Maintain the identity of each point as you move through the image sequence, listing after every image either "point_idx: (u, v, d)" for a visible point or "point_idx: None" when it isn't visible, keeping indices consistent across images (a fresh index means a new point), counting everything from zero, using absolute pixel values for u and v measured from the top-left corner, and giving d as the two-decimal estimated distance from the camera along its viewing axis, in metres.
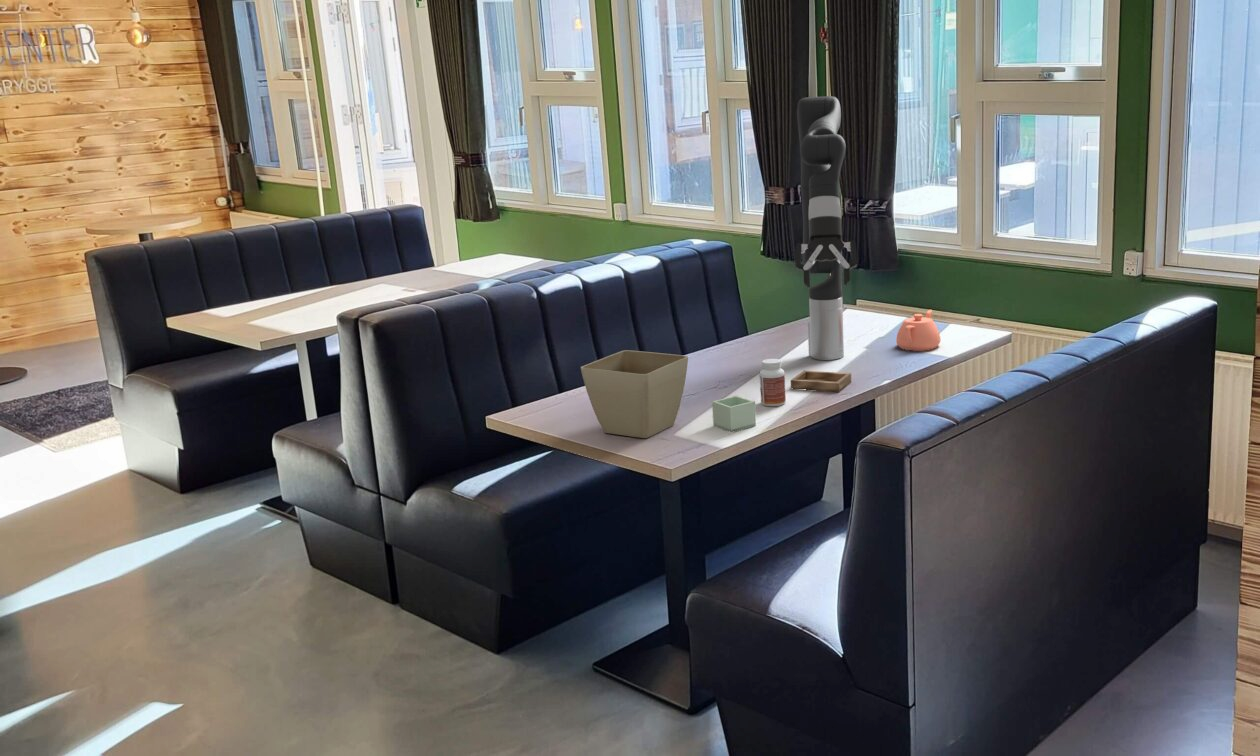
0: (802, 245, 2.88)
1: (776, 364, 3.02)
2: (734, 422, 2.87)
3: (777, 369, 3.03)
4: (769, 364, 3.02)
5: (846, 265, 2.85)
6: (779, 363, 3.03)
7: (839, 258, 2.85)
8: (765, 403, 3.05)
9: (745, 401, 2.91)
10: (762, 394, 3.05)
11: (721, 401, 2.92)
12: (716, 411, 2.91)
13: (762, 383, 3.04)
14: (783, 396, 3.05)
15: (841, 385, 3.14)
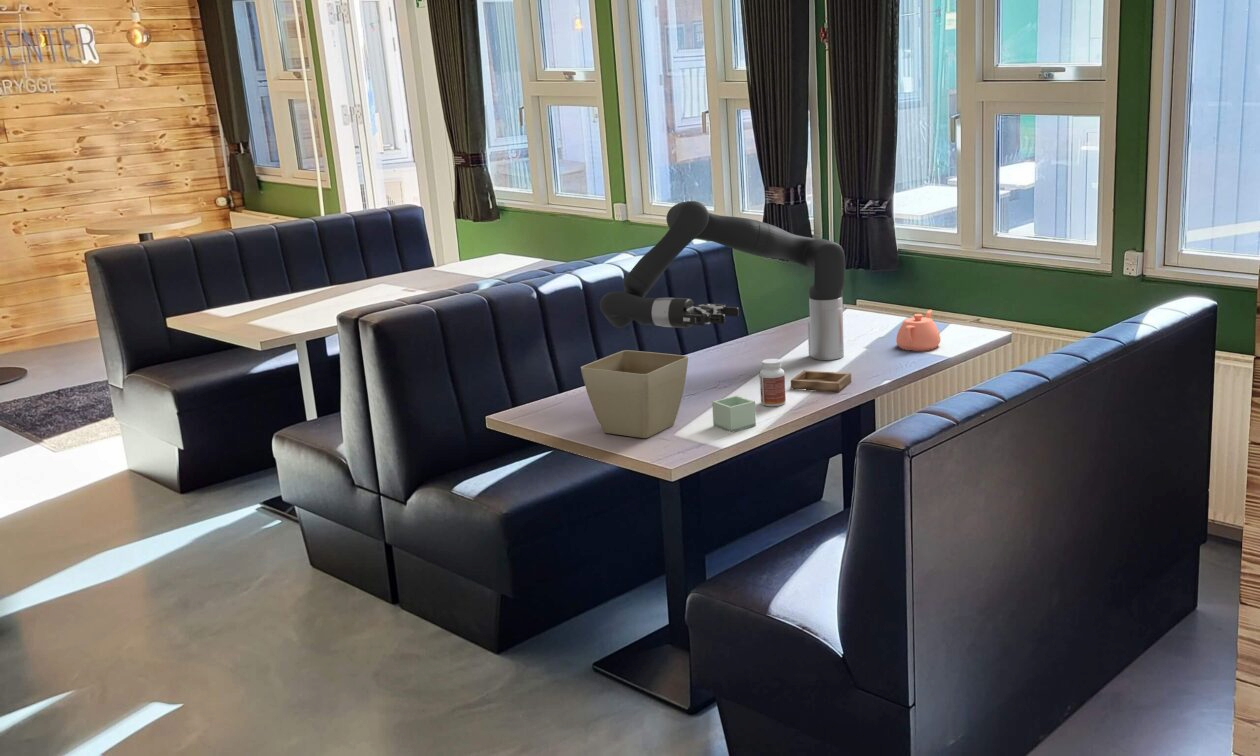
0: None
1: (776, 364, 3.02)
2: (734, 422, 2.87)
3: (777, 369, 3.03)
4: (769, 364, 3.02)
5: None
6: (779, 363, 3.03)
7: None
8: (765, 403, 3.05)
9: (745, 401, 2.91)
10: (762, 394, 3.05)
11: (721, 401, 2.92)
12: (716, 411, 2.91)
13: (762, 383, 3.04)
14: (783, 396, 3.05)
15: (841, 385, 3.14)
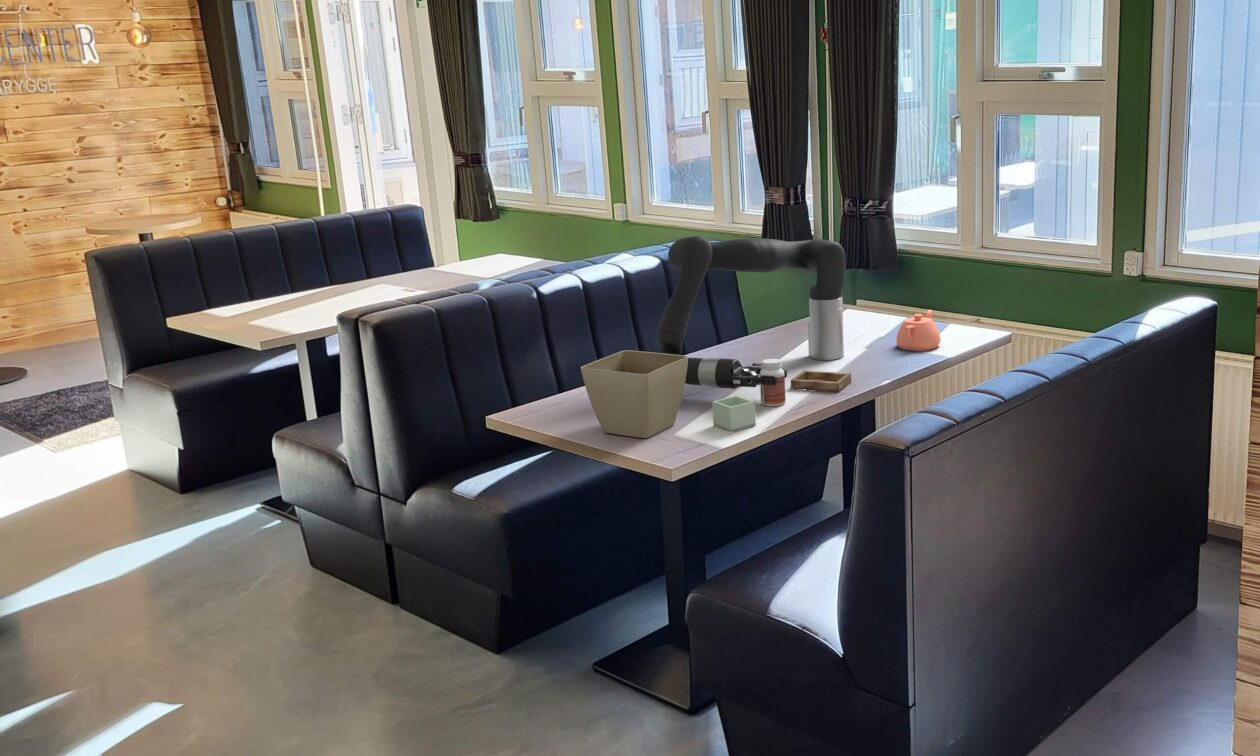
0: None
1: (776, 364, 3.02)
2: (734, 422, 2.87)
3: (777, 369, 3.03)
4: (769, 364, 3.02)
5: None
6: (779, 363, 3.03)
7: None
8: (765, 403, 3.05)
9: (745, 401, 2.91)
10: (762, 394, 3.05)
11: (721, 401, 2.92)
12: (716, 411, 2.91)
13: None
14: (783, 396, 3.05)
15: (841, 385, 3.14)
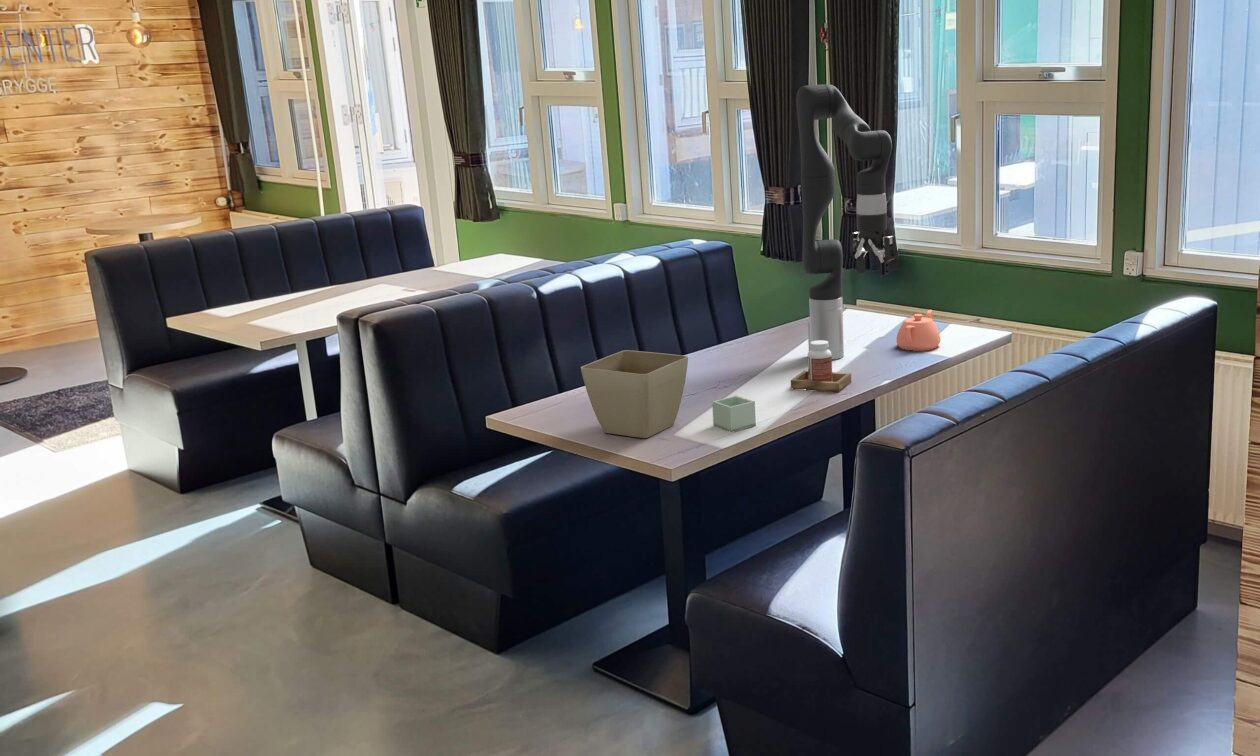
0: (856, 234, 3.16)
1: (824, 345, 3.15)
2: (734, 422, 2.87)
3: (825, 350, 3.16)
4: (817, 345, 3.15)
5: (881, 259, 3.09)
6: (827, 344, 3.16)
7: (875, 252, 3.09)
8: None
9: (745, 401, 2.91)
10: (810, 374, 3.18)
11: (721, 401, 2.92)
12: (716, 411, 2.91)
13: (810, 363, 3.17)
14: (830, 376, 3.17)
15: (841, 385, 3.14)
